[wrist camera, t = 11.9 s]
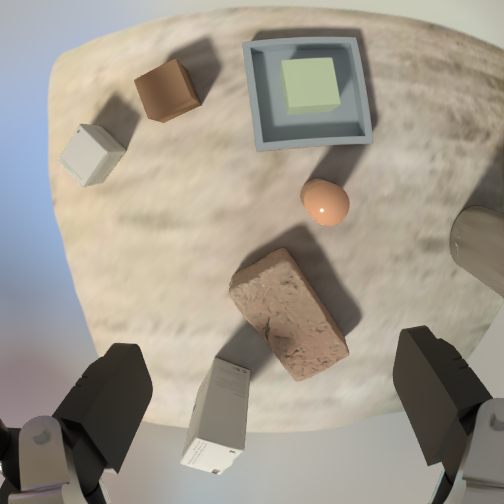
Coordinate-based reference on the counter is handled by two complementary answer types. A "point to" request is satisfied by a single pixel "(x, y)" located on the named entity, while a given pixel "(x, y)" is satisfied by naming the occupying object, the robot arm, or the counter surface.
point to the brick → (288, 315)
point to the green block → (309, 85)
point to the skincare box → (218, 419)
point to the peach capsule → (325, 201)
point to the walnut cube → (167, 91)
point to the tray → (306, 124)
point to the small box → (91, 155)
